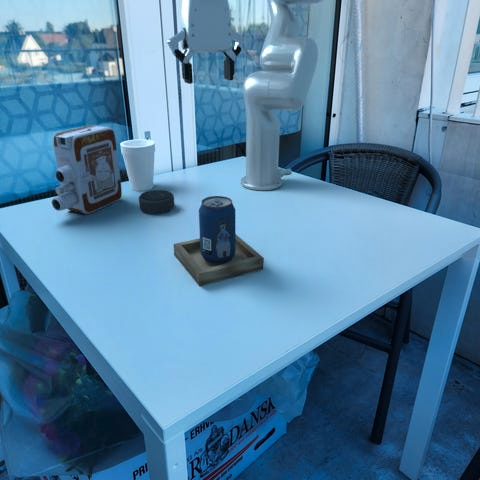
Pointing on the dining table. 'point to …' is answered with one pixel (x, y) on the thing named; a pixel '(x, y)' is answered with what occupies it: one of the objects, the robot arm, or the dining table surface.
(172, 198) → the smart speaker
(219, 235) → the soda can
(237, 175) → the dining table surface
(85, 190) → the cine camera
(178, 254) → the taupe tray
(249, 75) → the robot arm
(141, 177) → the foam cup
